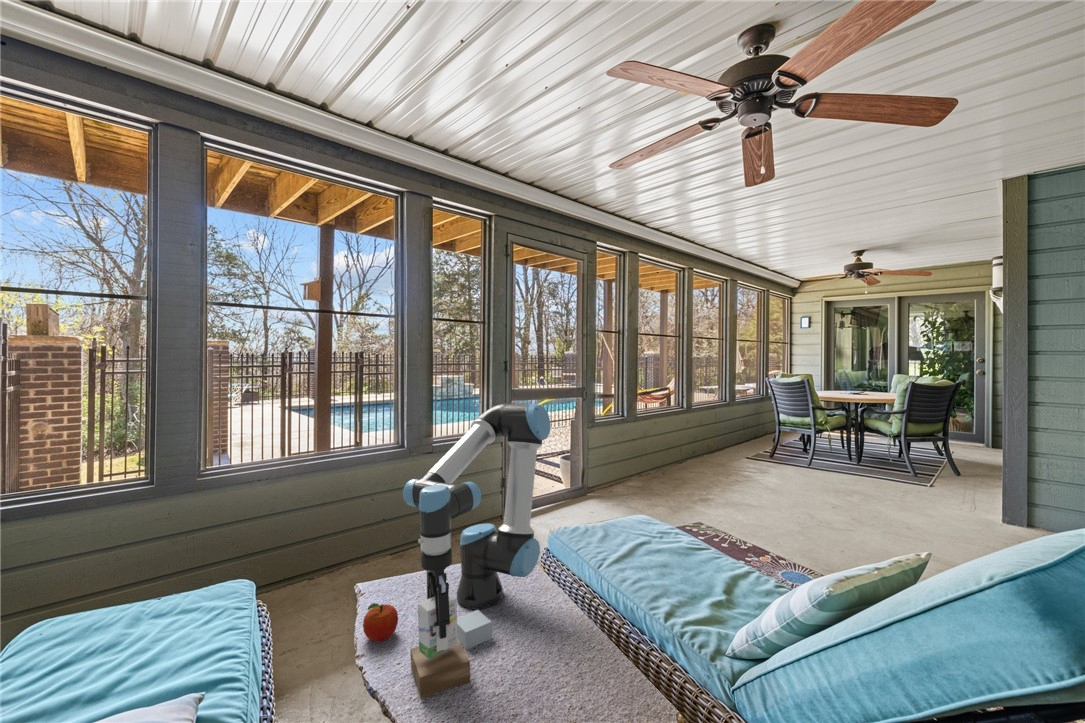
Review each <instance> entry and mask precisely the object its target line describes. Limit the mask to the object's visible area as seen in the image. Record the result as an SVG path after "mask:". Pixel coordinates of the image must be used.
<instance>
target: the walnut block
mask: <svg viewBox="0 0 1085 723" xmlns="http://www.w3.org/2000/svg"><path fill="white" fill-rule="evenodd" d="M409 651H410V670H411V672H412V676H413V679H414V682H415V686H416V689H417V691H418V692H417V693H418V694H419V698H420V699H421V700H422V699H425V698H427V697H431V696H434V695H436V694H439V693H442V692H444V691H447V690H450V689H453V688H455V687H458V686H461V685H463V684H467V683H470V682H471V660H470V659H469V657H468V655H467V653H466V650H465V648H464V647H463V646H462V645H461V643H460V641H459V640H458V643H457V644H456V645H454V646H452V647H450V648H448V649H447V650H445V651H443V652H441V653H439V654H437V655H435V656H434V657H432V658H430V659H428V658H427V657H426V656H425V655H423V654H422V653H421V652H420V651H419V646H416V647H412V648H410V650H409Z"/></svg>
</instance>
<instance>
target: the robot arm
mask: <svg viewBox="0 0 1085 723" xmlns="http://www.w3.org/2000/svg"><path fill="white" fill-rule="evenodd" d="M550 433H551V418H550V415H549V413H548V411H547V409H546V408H545V407H544V406H543V405H541V404H537V403H508V402H504V403H499V404H496V405H494V406H493V407H491V408H489V409H487V410H486V411H484V412H483V413H481V414H480V415H479V416H478V417H476V418H475V419H473V421H472V422H471V424H470V428H469V430H467V432H465V434H464V435H462V437H461V438H459V440H458V441H457V442H456V443H455V444H454V445H453V446H452V447H451V448H450V449H449V450H448V451H447V452H446V453H445V454H444V455H443V456H442V457H441V458H440V459H439V461H437V462H436V463H435V464H434V465H433V466H432V467H431V469H429V470H428V471H427V472H426V474H424V476H423V477H421V478H413V479H410V480H408V481H407V482H406V484H405V485H404V488H403V491H402V498H403V501H404V502H405V504H406V505H408V506H410V507H414V508H417V509H419V510H418V512H419V525H420V526H419V529H420V530H419V531H420V532H419V534H420V536H419V537H420V538H419V539H418V540H417V541H418V542H417V543H418V544H420V551H421V552H420V566H421V568H422V569H423V570H425V571H426V600H427V599H430V598H432V597H434V596H435V607H436V618H437V623H434V627H435V626H436V650H437V652H438V651H441V650H444V649H448V626H447V625H448V624H450V614H449V594H450V593H449V592H450V591H449V588H450V583H449V582H447V581H448V580H447V579H448V578H447V572H445V570H446V569H447V568H449V567H450V566H451V564H452V563H453V561H452V560H453V559H452V558H453V555H452V551H453V550H452V543H453V542H452V522H451V520H454V519H456V518H458V517H460V516H462V515H464V514H466V513H470V512H471V511H472V510H474V509H475V508H477V507H478V506H479V505H480V503H481V500H482V493H481V491H482V490H481V489H480V487H479V486H478V484H476V483H475V482H473V481H466V482H465V481H464V482H461V483H460V484H459V483H458V484H455V483H454V482H455V481H456V480H457V479H458V477H459V476H460V475H461V474H462V473H463V472H464V471H465V470H466V468H468V466H469V465H470V464H471V463H472V462H473V460H475V459H476V457H477V456H478V455H479V454H480V453H481V452H482V450H483V449H484V448H485V447H486V446H487V445H490V444H492V443H493V442H495V440H497V439H499V438H507V444H508V445H509V447H510V449H511V450H510V457H509V465H508V466H509V467H508V476H507V485H506V495H505V506H504V515H503V523H502V524H501V525H500V526H499V527H498V529H497V528H496V525H494V523H479V524H475V525H471V526H469V527H467V528H465V529H464V530H462V532H461V534H460V543H459V547H460V548H459V549H460V568H461V576H460V580H459V583H458V586H457V590H456V602H457V604H458V605H460V606H462V607H463V608H466V609H472V610H480V609H481V610H482V609H485V608H490V607H492V606H494V605H496V604H498V603H500V601H501V600H502V599H503V596H504V592H503V591H504V589H503V585H502V581H501V580H500V577H499V574H498V573H500V574H504V575H508V576H511V577H517V578H526V577H528V576H529V575H531V573H532V572H533V571H534V570H535V568H536V566H537V564H538V561H539V557H540V551H541V547H540V542H539V540H537V539H536V538H534V537H535V530H534V529H533V528H532V526H531V519H532V507H533V497H534V486H535V476H536V464H537V463H536V462H537V453H538V450H539V449H540V448H541V447H542V446H543V441H544V440H547V439H548V437H549V435H550Z"/></svg>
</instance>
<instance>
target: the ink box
mask: <svg viewBox="0 0 1085 723" xmlns="http://www.w3.org/2000/svg"><path fill="white" fill-rule="evenodd" d="M457 605H458V602H457V597H455V596H453V595H452V594H450V593H449V614H450V624H448V625H447V626H448V648H450V647H452V646H454V645H456V644H457V643H458V635H457V618H458V613H457V612H458V611H457V609H458V608H457ZM417 618H418V619H417V621H418V647H419V651H420V652H421V653H422V654H423V655H425V656H426V657H427V658H428V659H430V658H432V657H434V656H435V655H437V654H439V653H441V652H443V651H445V650H447V649H444V650H441V651H438V652H437V650H436V626H435V627H434V623H437V618H436V607H435V596H434V597H432V598H430V599H427V598H426V600H423V601H420V602H419V603H418V604H417Z"/></svg>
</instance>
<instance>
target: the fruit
mask: <svg viewBox="0 0 1085 723" xmlns="http://www.w3.org/2000/svg"><path fill="white" fill-rule="evenodd" d="M398 615H399V614H398V611H397V609H396V608H395V607H394V606H393V605H391V604H383V603H382V604H380V605H379V603H376V602H374V603H372V604H370V605H369V606H368V607H367V613H365V615H364V618H363V621H362V622H363V623H362V627H363V632H364V634H365V637H366V638H367V639H368V640H369V641H371V642H374V643H379V642H384V641H386V640H388V639H390V638H391V637H392V635H393V634H394V632H395V631H396V629H397V626H398V624H399V616H398Z"/></svg>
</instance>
